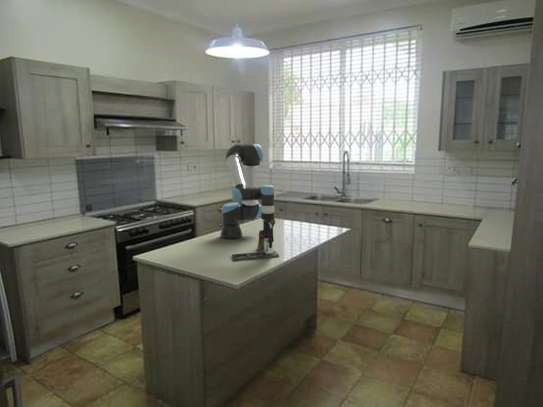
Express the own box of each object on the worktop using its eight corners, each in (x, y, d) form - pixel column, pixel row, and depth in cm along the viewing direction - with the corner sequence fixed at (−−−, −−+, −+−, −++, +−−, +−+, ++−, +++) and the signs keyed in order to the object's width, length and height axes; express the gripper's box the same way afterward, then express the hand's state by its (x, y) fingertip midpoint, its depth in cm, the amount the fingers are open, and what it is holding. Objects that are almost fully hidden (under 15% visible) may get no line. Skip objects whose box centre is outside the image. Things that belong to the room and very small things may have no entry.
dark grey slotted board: (231, 256, 226) (231, 254, 225) (274, 252, 232) (274, 250, 232) (234, 261, 217) (233, 259, 217) (278, 256, 223) (278, 254, 223)
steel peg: (264, 254, 228) (264, 239, 226) (271, 254, 229) (270, 239, 227) (266, 256, 224) (265, 241, 222) (272, 256, 225) (272, 241, 223)
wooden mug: (279, 246, 244) (279, 218, 242) (265, 251, 234) (264, 222, 232) (268, 244, 250) (268, 216, 247) (254, 248, 240) (253, 220, 237)
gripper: (257, 209, 231) (258, 246, 235) (265, 216, 211) (266, 256, 215) (269, 208, 233) (270, 245, 237) (278, 215, 213) (279, 255, 217)
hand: (268, 250), depth 226 cm, fingers open, 8 cm apart
